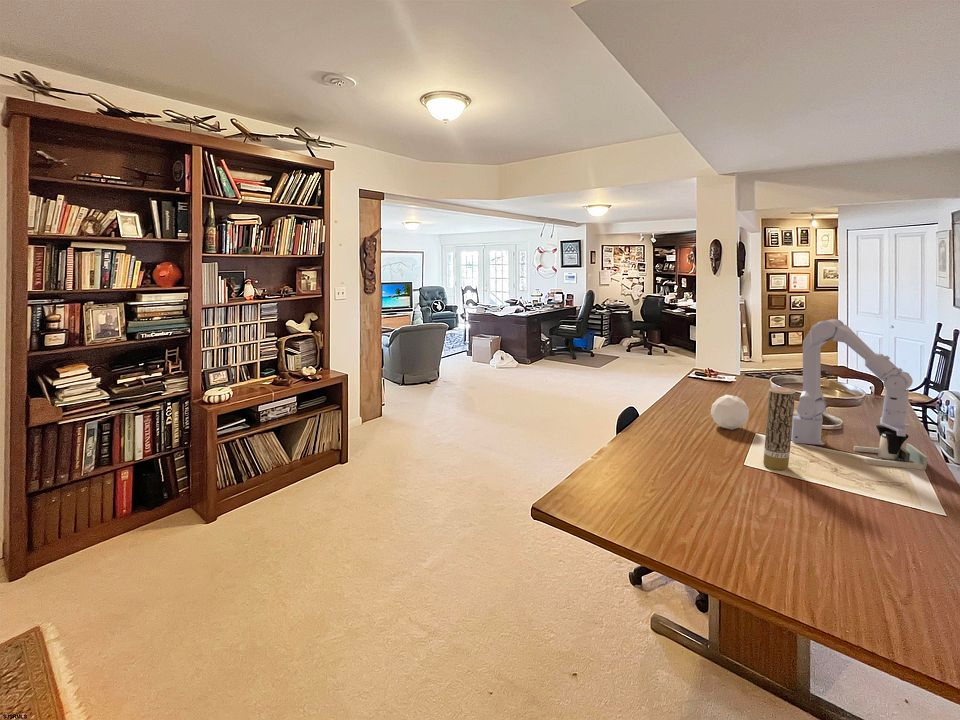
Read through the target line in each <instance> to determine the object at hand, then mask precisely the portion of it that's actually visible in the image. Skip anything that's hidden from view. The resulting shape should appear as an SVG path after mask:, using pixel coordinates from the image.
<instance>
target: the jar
mask: <svg viewBox="0 0 960 720" xmlns="http://www.w3.org/2000/svg"><path fill="white" fill-rule="evenodd" d="M878 448H879V453H877V455H878V457H880V458H882V459H884V460H890V461H898V458H899V452H898V454H897V455H896V454H889V453H888V443H887V438H886V435H885V433H882V435H881V438H880V437H879V447H878Z"/></svg>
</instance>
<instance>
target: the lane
mask: <svg viewBox="0 0 960 720" xmlns="http://www.w3.org/2000/svg"><path fill="white" fill-rule="evenodd" d="M905 450H907V451H908V452H909V453H910V458H909V460H910V461H912V462H910V461H909V462H900V461H899V460H891V459H878V458H866V459H865V460H866V461H865V464H868V465H876V466H877V465H879V466H887V467H897V468H906V469H916V470H927V464H928V458H929V457H928V456H927V455H926V454H924V452H921V451H920V450H919V449H918V448H917V447H915V446H913V445H912V444H911V443H906V445H905ZM853 451H854V452H862V453H863V452H864V453H870V454H871V453H872V454H874V453H875V454H878V453H879V447H871V446H859V445H858V446H857V445H854V446H853Z"/></svg>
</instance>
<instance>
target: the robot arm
mask: <svg viewBox="0 0 960 720" xmlns="http://www.w3.org/2000/svg"><path fill="white" fill-rule="evenodd" d="M830 340H832V341H833V342H838V343H839V342H841V343H844V344H845V345H847V347H849V348H850V349H851V350H853V352H855V353H856V354H858V355H859V356H860V357H861V358H863V360H864V363H865V364H864V366H865V367H866V368H867V369H868V370H869V371H871V372H872V374H873V375H875V376H876V377H877V378H878V379H879V380H880V381H882V382H883V383H882V384H883V387H884V389H885V392H884V393H885V394H884V400H883V406H882V413H881V416H880V418H879V423H880V424H878V425H876V429H877V433H878V434H879V439H880V438H881V435H882V433H885V435H886V438H887V443H888V453H889V454H896V455H897V454H898V452H899V450H900V448H901V446H902V447H903V444H904V442H905V441H907V439H909V434H907V430H906V428H910V424H909V423H906V417H907V412H908V404H909V394H910V393H909V392H910V389H909V388H910V387H911V386H912V385H913V378H912V375H910V373H908V372H906V371H904V370H903V369H902V368H901V367H900V368H899V367H898V366H896V365H895V364H894V363H893V362H892V361H891V357H890V356H888V355H884V354H883V353H876V352H874V351H873V350H872V348H871V347H869V346H868V345H867V344H866V343H865V342H864V341H863V340H862V339H861V338H860V337H859V336H858V335H857V333H855V332H854V331H853V330H852V329H851V328H850V326H848V325H847V324H844V322H843V321H842V320H840V319H838V318H830V319H828V320H821V321H818V322H816V323H815V324H813V325H812V326H811V327H810V330H809V331H808V333H807V335H806V336H805V337H804V339H803V340H802V392H801V394H800V395H799V402H798V403H797V405H796V412H797V415H793V422H792V433H791V442H792V443H793V444H794V443H795V444H808V445H817V446H824V445H825V443H824V442H823V441H822V439H821V438H822V429H823V420H824V419H823V418H824V417H823V413H824V412H825V411H826V409H827V402H826V401H825V399H824V393H823V392H822V389H821V388H822V387H821V385H822V384H821V382H822V379H821V377H822V375H821V371H822V370H821V364H822V363H821V362H822V360H821V356H822V355H821V353H822V352H821V350H822V349H821V347H822V346H823V345H825V343H828V342H829V341H830Z"/></svg>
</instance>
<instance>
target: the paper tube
mask: <svg viewBox="0 0 960 720" xmlns="http://www.w3.org/2000/svg"><path fill="white" fill-rule="evenodd" d="M795 399H796V389H793V388H789V387H781V386H780V387H779V386H775V387H774V386H772V387H769V391H768V401H767V402H768V403H767V412H766V413H767V414H766V425H765V437H764V450H763V459H762V460H763V462H762V463H763V465H764V466H765V467H766V468H769V469H771V470H777V471H784V470H787V469H789V462H790V454H791V453H790V451H791V442H792V440H791V433H792V422H793V416H794V411H795Z"/></svg>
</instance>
